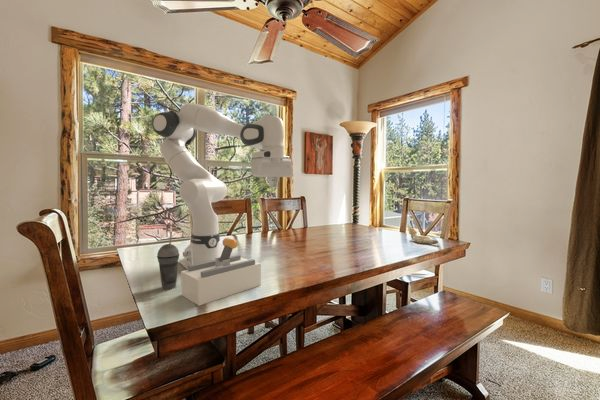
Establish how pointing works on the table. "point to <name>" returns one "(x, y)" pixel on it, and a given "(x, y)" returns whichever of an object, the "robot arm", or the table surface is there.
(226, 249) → the lever
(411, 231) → the lying animal figurine
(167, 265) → the beverage cup
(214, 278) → the box
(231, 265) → the grey slotted rail
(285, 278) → the table surface
